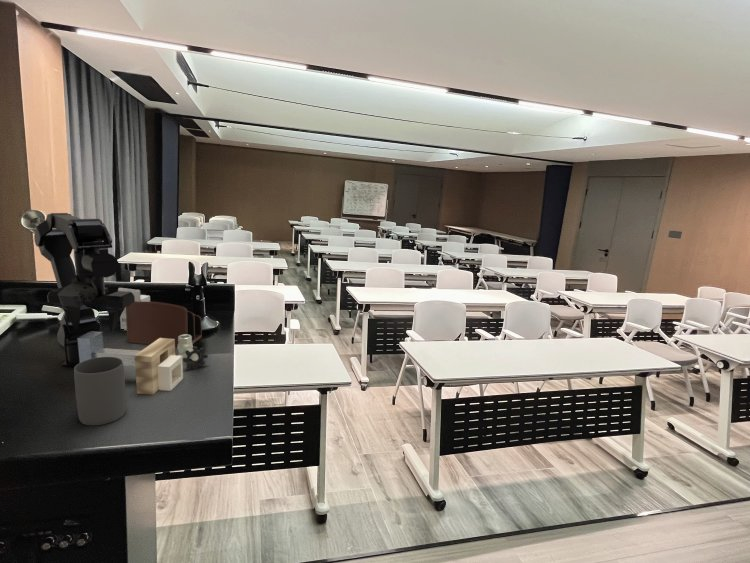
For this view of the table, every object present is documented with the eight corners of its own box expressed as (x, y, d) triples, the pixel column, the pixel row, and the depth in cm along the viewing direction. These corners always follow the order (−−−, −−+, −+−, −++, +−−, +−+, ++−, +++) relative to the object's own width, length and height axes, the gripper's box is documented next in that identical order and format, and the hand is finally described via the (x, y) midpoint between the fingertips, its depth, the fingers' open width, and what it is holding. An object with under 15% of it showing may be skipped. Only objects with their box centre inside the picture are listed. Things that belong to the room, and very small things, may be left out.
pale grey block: (80, 371, 108) (77, 338, 106) (93, 363, 113) (90, 331, 111) (148, 376, 108) (146, 342, 106) (158, 367, 113) (156, 335, 111)
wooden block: (137, 393, 105) (134, 355, 103) (161, 372, 117) (159, 337, 115) (153, 394, 105) (151, 356, 103) (176, 373, 117) (174, 338, 115)
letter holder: (187, 349, 134) (185, 305, 131) (126, 343, 135) (123, 300, 132) (202, 337, 144) (201, 297, 141) (145, 332, 145) (143, 292, 142)
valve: (171, 357, 128) (183, 372, 119) (170, 336, 126) (182, 349, 117) (194, 352, 132) (208, 366, 123) (194, 332, 130) (207, 345, 121)
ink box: (152, 328, 149) (150, 286, 146) (142, 332, 144) (140, 290, 141) (130, 325, 150) (127, 284, 147) (120, 329, 146) (117, 287, 142)
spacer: (158, 390, 108) (157, 366, 106) (171, 377, 115) (170, 355, 113) (170, 391, 108) (169, 366, 106) (183, 378, 115) (182, 355, 113)
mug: (133, 416, 96) (129, 366, 93) (85, 431, 89) (80, 378, 87) (112, 393, 105) (108, 347, 102) (67, 405, 98) (62, 356, 95)
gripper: (25, 273, 98) (33, 338, 102) (105, 279, 98) (110, 344, 102) (61, 264, 109) (67, 323, 113) (134, 270, 109) (137, 328, 112)
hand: (94, 329), depth 110 cm, fingers open, 9 cm apart
